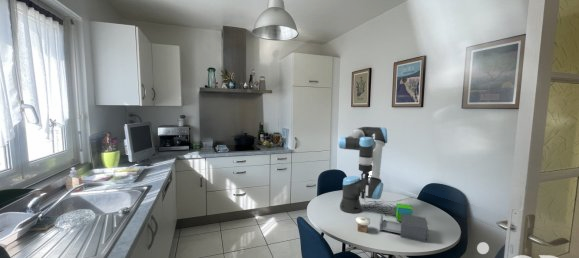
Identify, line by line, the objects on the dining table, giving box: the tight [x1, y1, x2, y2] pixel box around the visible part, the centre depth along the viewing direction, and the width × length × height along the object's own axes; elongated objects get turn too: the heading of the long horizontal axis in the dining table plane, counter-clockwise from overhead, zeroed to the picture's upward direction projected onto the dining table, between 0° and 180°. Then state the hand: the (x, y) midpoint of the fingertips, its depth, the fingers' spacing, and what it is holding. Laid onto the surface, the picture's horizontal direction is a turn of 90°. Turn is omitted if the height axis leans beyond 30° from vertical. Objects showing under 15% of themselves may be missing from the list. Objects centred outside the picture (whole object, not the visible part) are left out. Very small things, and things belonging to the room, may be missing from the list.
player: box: [400, 213, 429, 244], centre depth 135 cm, size 13×14×8 cm
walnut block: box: [357, 223, 369, 234], centre depth 139 cm, size 5×5×5 cm
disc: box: [355, 215, 371, 226], centre depth 138 cm, size 8×8×2 cm
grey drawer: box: [379, 215, 401, 235], centre depth 140 cm, size 13×12×5 cm
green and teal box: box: [394, 203, 413, 222], centre depth 154 cm, size 10×13×10 cm
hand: (364, 199), depth 137 cm, fingers open, 13 cm apart
